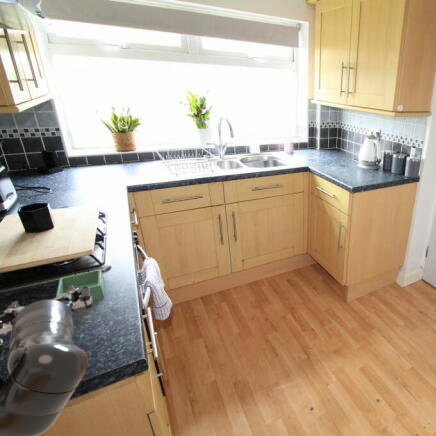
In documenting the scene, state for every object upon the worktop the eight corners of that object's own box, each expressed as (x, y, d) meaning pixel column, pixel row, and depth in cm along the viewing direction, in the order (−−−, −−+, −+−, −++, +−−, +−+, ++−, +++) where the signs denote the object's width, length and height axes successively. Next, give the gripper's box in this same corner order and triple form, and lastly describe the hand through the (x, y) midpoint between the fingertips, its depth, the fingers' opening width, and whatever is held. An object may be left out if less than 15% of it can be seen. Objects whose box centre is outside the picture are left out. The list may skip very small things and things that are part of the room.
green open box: (61, 309, 89) (56, 296, 88) (64, 290, 97) (59, 278, 95) (104, 297, 95) (100, 285, 93) (104, 280, 102) (100, 268, 100)
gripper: (90, 293, 54) (83, 267, 66) (-30, 331, 46) (-13, 294, 58) (102, 330, 56) (94, 299, 68) (-10, 374, 48) (3, 329, 60)
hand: (45, 297), depth 63 cm, fingers open, 8 cm apart
